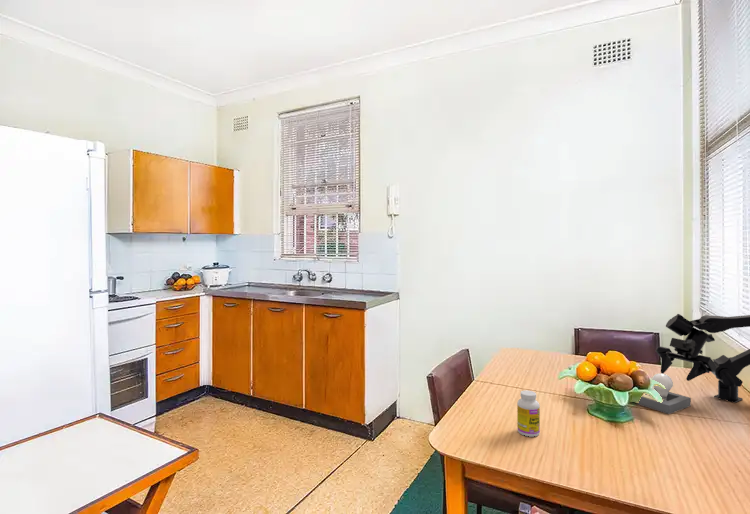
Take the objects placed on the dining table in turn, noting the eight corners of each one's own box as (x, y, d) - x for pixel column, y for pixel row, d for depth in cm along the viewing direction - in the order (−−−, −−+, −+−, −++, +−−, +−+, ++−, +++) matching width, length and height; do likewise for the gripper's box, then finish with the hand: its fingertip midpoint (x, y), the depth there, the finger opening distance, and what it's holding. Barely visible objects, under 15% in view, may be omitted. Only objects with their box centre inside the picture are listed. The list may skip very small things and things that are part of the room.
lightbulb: (676, 407, 148) (676, 376, 148) (656, 406, 149) (656, 376, 149) (668, 400, 154) (667, 371, 154) (649, 399, 155) (648, 370, 155)
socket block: (652, 394, 160) (652, 386, 160) (690, 406, 149) (690, 396, 148) (630, 401, 154) (630, 393, 153) (669, 414, 142) (669, 404, 142)
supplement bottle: (529, 439, 126) (528, 398, 126) (512, 431, 132) (512, 391, 132) (544, 434, 129) (544, 394, 129) (527, 426, 135) (527, 387, 135)
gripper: (658, 326, 163) (639, 357, 160) (711, 335, 146) (690, 370, 142) (672, 343, 166) (653, 374, 163) (725, 354, 149) (705, 389, 145)
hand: (674, 376), depth 153 cm, fingers open, 9 cm apart
